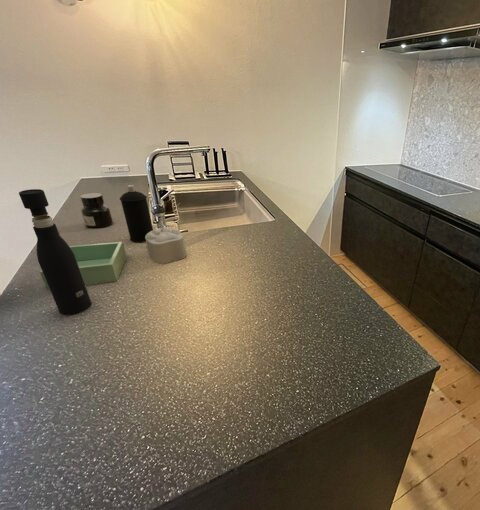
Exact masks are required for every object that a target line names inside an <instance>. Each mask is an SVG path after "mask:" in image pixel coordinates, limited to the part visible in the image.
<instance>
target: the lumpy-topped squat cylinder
mask: <svg viewBox="0 0 480 510" xmlns="http://www.w3.org/2000/svg"><path fill="white" fill-rule="evenodd" d="M145 239H146V242H145V243H146V247H147V251H148V256H149V258H150V259H151V261H152V262H153V263H155V264H159V265H164V264H168V263H171V262H175V261H179V260H183V259H184V258H186V257H187V251H186V246H185V240H184V236H183V234H182V233H181V232H180V230H179V229H178V228H168V227H167V226H164V227H160V228H153V231H151V232H149V233H148V234H147V235H146V236H145ZM185 256H186V257H185Z"/></svg>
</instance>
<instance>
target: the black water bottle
mask: <svg viewBox="0 0 480 510" xmlns="http://www.w3.org/2000/svg"><path fill="white" fill-rule="evenodd" d="M18 195H19V197H20V200H21V202H22V205H23V208H24V209H26V210H29V211H30V213H31V217H32V218H31V222H32V225H33V227H32V228H33V231H34V234H35V235H36V257H37V262H38V265H39V267H40V270H42V272H43V274H44V276H45V279H46V281H47V284H48V286H49V288H50V289H49V291H50V293H51V295H52V298H53V300H54V303H55V305H56V308H57V311H58V312H59V314H61V315H64V316H71V315H76V314H80V313H82V312H84V311H86V310H87V309H89V308H90V307H91V306H92V300H91V297H90V295H89V291H88V289H87V287H86V286H87V285H85V283H84V280H83V278H82V275H81V272H80V269H79V266H78V263H77V261H76V258H75V255H74V253H73V251H72V250H71V248H70V247H69V246H70V245H69V244H68V243H67V241H66V240H65V239H64V238H63V237H62V236H61V234H60V232H59V229H58V227H57V225H56V223H54V221H53V217H51V215H49V212H48V210H47V207H49V201H48V199H47V195H46V193H45V191H44V189H40V188H31V189H24V190H20V191H19V192H18Z"/></svg>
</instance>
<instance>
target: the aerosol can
mask: <svg viewBox="0 0 480 510" xmlns="http://www.w3.org/2000/svg"><path fill="white" fill-rule="evenodd" d="M135 188H136V187H135V185H133V184H129V185H127V190H128V191H127V192H124V193H123V194H122V195H121V196H120V197H119V201H120V203H121V207H122V211H123V214H124V219H125V223H126V227H127V230H128V235H129V241H130V242H131V243H132V242H133V243H138V242H139V243H146V239H145V236H146V235H147V234H148V233H149V232H151V231H153V230H154V228H153V223H152V218H151V214H150V209H149V205H148V199H147V198H148V196H147V194H146V195H145V194H144V193H142V192H140V191H136V189H135Z"/></svg>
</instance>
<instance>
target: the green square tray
mask: <svg viewBox="0 0 480 510" xmlns="http://www.w3.org/2000/svg"><path fill="white" fill-rule="evenodd" d="M69 247H70V248H71V250H72V251H73V253H74V255H75V258H76V261H77V263H78V266H79V269H80V272H81V275H82V278H83V280H84V283H85V286H88V285H89V286H90V285H96V284H105V283H113V282H114V283H115V282H118V280H119V278H120V275H121V272H122V269H123V267H124V265H125V262H126V260H127V257H128V256H127V253H126V250H125V245H124V242H123V241H115V242H104V243H103V242H101V243H91V244H79V245H69ZM39 274H40V277H41V279H42V281H43V284H44V285H45V288H46V290H47V291H48V290H49V291H50V288H49V286H48V284H47V281H46V279H45V276H44V274H43V272H42V269H40V271H39Z"/></svg>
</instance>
